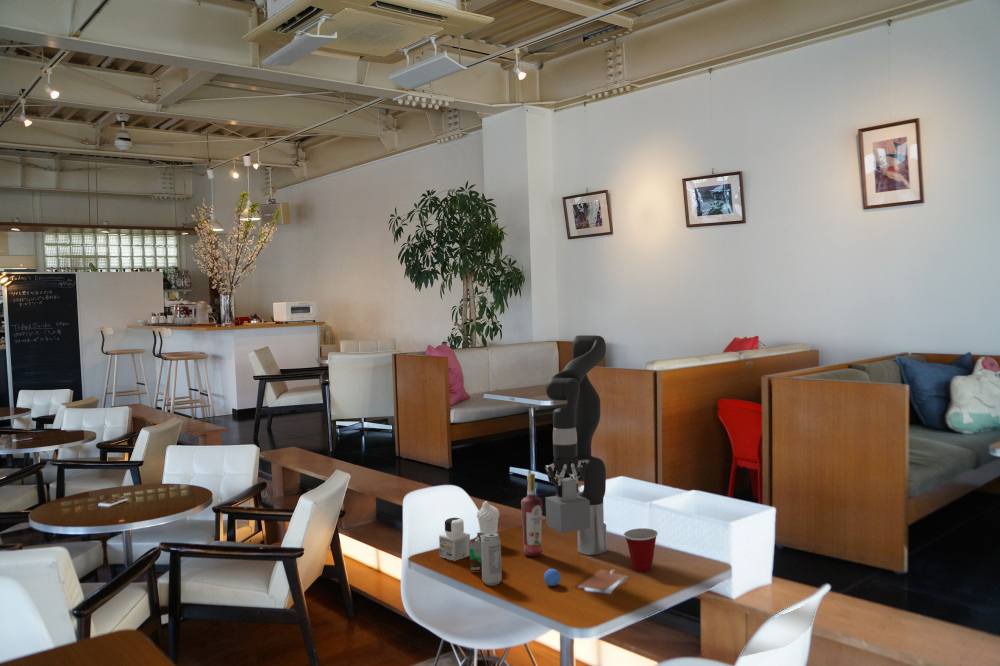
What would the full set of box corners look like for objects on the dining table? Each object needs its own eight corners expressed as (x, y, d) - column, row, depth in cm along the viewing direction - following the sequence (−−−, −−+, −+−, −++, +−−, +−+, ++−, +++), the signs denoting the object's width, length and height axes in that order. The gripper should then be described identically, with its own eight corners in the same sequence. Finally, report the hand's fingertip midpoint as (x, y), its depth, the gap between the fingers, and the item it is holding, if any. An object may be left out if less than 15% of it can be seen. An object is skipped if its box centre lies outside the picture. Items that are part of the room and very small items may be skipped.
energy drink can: (495, 577, 231) (493, 530, 231) (505, 583, 226) (504, 535, 226) (478, 581, 228) (477, 534, 228) (488, 587, 223) (487, 538, 222)
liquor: (529, 559, 247) (527, 477, 247) (518, 554, 254) (516, 473, 253) (547, 555, 251) (545, 474, 251) (535, 550, 258) (533, 471, 257)
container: (439, 557, 253) (438, 519, 253) (455, 551, 258) (454, 514, 258) (454, 561, 248) (453, 523, 247) (470, 555, 253) (469, 518, 253)
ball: (556, 581, 226) (555, 565, 226) (563, 586, 222) (563, 570, 222) (541, 583, 225) (541, 567, 225) (548, 589, 220) (547, 572, 220)
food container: (488, 574, 234) (487, 543, 234) (469, 573, 235) (468, 543, 235) (496, 562, 246) (495, 532, 246) (478, 561, 247) (477, 531, 247)
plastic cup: (619, 565, 240) (618, 529, 239) (650, 562, 242) (649, 526, 242) (631, 576, 229) (631, 538, 229) (664, 573, 231) (663, 535, 231)
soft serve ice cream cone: (498, 540, 270) (497, 497, 269) (502, 547, 261) (501, 503, 261) (475, 542, 268) (474, 499, 268) (479, 549, 260) (478, 504, 260)
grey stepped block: (574, 520, 236) (573, 474, 236) (590, 528, 227) (588, 481, 226) (546, 524, 232) (544, 478, 232) (561, 533, 223) (559, 485, 222)
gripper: (579, 437, 235) (581, 490, 235) (539, 442, 229) (541, 496, 230) (591, 441, 228) (592, 495, 228) (549, 445, 222) (551, 501, 223)
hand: (566, 495), depth 229 cm, fingers closed on grey stepped block, 4 cm apart
